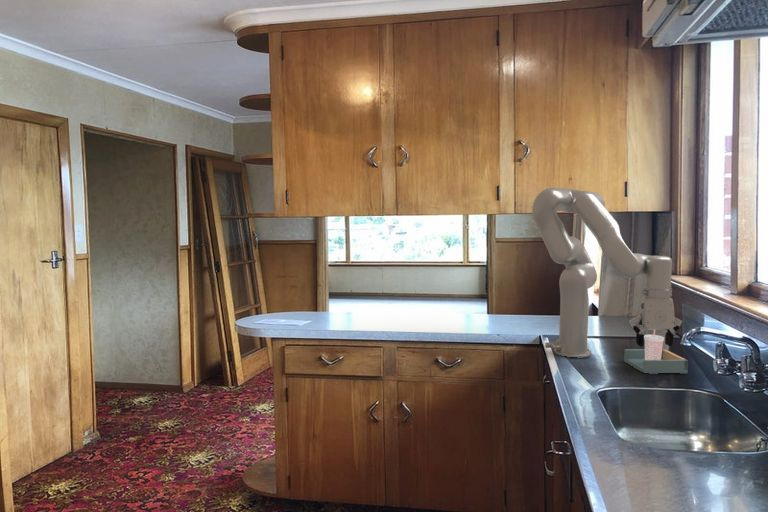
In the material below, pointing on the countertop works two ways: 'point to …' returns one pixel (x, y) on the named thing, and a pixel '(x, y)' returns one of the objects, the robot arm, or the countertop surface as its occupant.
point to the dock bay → (656, 362)
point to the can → (659, 333)
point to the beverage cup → (653, 346)
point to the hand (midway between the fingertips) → (654, 345)
